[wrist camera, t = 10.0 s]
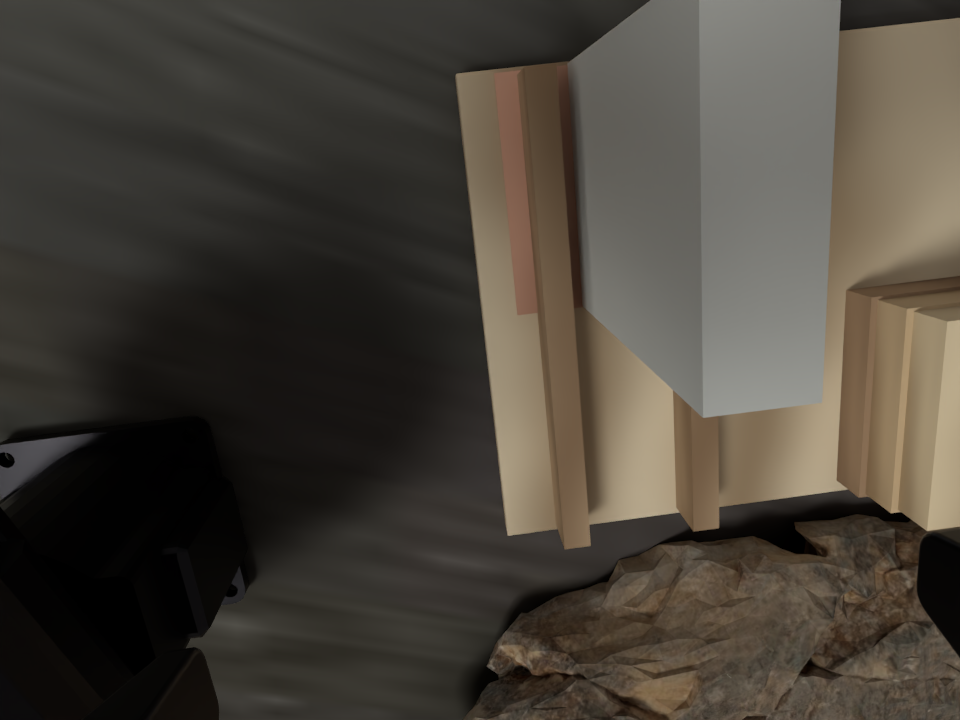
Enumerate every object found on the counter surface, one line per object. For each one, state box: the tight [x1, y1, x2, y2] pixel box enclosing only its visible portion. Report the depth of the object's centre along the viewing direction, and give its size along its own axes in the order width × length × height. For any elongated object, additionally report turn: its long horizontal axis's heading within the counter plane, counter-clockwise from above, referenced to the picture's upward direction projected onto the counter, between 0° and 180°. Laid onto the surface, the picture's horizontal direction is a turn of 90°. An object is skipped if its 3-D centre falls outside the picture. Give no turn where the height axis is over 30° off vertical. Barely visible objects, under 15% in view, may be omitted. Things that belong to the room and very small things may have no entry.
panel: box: [567, 0, 841, 418], centre depth 14 cm, size 2×7×9 cm, turn 6°
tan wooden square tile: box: [836, 276, 960, 498], centre depth 20 cm, size 6×6×1 cm
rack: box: [455, 18, 960, 549], centre depth 19 cm, size 18×14×2 cm
